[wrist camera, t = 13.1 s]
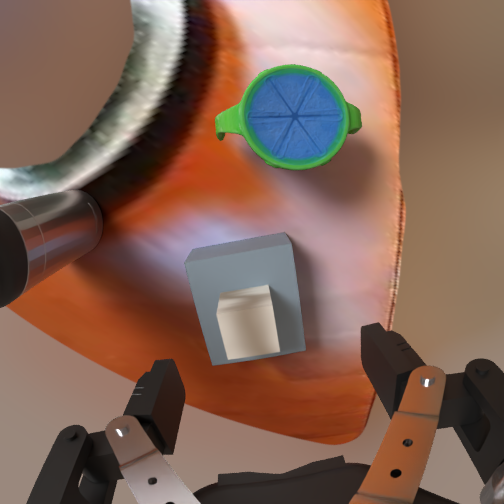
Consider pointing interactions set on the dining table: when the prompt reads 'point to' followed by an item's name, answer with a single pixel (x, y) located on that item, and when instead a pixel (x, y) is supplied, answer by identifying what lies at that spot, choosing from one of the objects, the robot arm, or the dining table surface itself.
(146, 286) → the dining table surface
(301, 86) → the snack cup
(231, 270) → the slate stand
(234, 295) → the cream cube
